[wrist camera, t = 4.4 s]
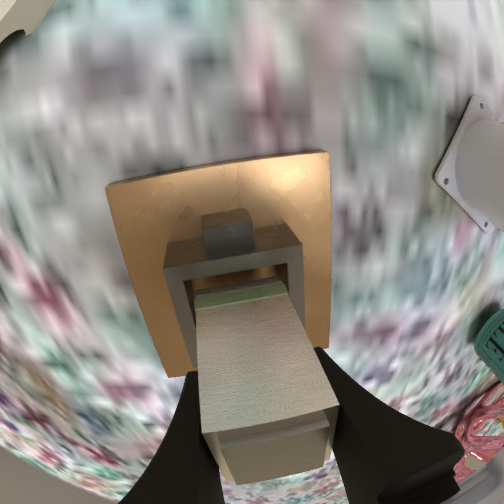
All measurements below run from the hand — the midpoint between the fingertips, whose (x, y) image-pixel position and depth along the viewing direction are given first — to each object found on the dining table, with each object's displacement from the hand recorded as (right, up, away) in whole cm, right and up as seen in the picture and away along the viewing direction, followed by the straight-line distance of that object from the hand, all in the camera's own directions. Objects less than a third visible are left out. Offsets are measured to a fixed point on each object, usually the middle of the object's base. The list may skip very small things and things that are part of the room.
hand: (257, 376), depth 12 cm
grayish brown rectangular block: (-1, +2, +4) cm, 4 cm away
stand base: (-1, +4, +7) cm, 8 cm away
